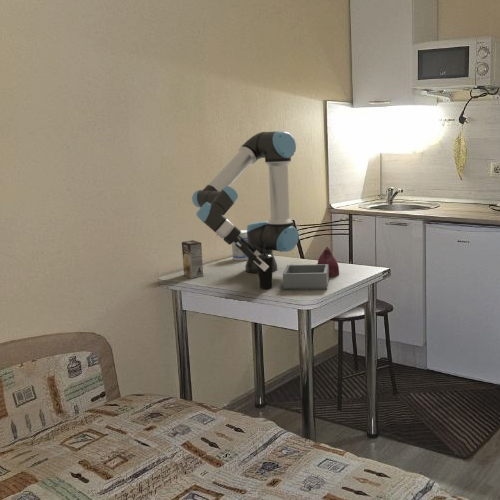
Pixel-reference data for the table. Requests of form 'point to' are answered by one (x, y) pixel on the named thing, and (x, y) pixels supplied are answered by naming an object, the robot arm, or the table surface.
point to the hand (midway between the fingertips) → (266, 265)
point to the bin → (306, 277)
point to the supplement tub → (236, 252)
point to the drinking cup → (266, 275)
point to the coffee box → (192, 258)
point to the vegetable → (329, 262)
